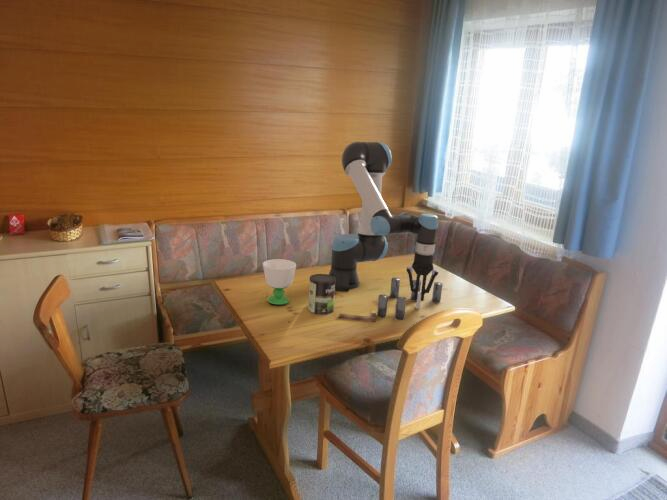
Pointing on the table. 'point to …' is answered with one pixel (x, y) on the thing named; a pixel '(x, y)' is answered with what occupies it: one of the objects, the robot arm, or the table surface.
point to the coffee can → (321, 294)
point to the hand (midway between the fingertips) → (417, 307)
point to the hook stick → (359, 317)
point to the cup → (279, 278)
